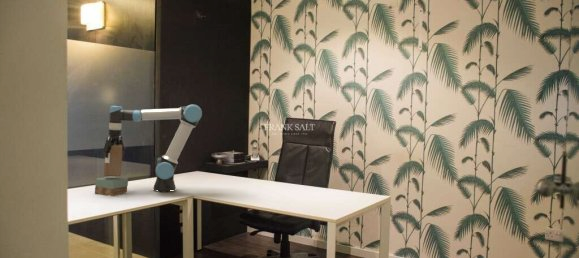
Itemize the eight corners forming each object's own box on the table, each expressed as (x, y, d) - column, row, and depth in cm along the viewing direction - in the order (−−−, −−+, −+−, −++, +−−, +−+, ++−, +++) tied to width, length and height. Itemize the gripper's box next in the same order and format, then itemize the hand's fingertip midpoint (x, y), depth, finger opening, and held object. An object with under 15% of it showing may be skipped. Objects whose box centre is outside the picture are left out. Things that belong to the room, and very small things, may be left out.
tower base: (126, 193, 287) (127, 185, 287) (114, 196, 274) (114, 189, 274) (108, 191, 290) (108, 183, 290) (94, 194, 277) (95, 186, 277)
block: (120, 176, 279) (122, 145, 278) (103, 176, 276) (105, 145, 275) (121, 174, 288) (122, 144, 288) (104, 173, 285) (106, 143, 284)
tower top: (127, 185, 287) (128, 178, 287) (112, 188, 273) (113, 181, 273) (110, 183, 291) (111, 176, 291) (95, 186, 278) (95, 178, 278)
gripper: (120, 128, 294) (119, 159, 295) (98, 129, 269) (96, 163, 270) (130, 129, 293) (129, 160, 293) (108, 130, 268) (107, 164, 269)
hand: (113, 161), depth 282 cm, fingers closed on block, 13 cm apart
